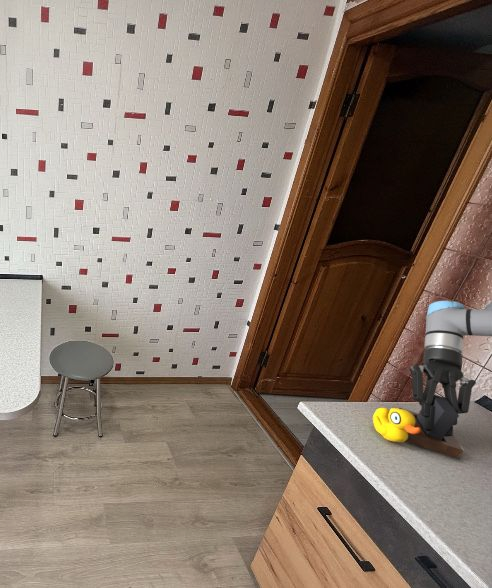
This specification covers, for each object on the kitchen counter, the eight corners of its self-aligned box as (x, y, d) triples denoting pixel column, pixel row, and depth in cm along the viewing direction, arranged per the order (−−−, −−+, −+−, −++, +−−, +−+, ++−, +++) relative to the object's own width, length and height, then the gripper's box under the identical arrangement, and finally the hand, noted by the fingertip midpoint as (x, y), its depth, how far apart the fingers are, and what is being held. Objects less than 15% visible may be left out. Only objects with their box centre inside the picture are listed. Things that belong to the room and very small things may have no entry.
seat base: (437, 428, 96) (443, 421, 95) (457, 458, 86) (463, 450, 85) (394, 415, 100) (399, 407, 99) (408, 442, 90) (413, 434, 89)
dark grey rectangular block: (427, 424, 96) (445, 397, 92) (439, 443, 89) (459, 415, 85) (414, 420, 97) (431, 393, 93) (424, 439, 90) (443, 411, 86)
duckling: (414, 456, 86) (434, 427, 82) (393, 453, 86) (411, 424, 82) (381, 423, 97) (397, 396, 93) (362, 421, 97) (377, 394, 93)
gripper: (470, 364, 95) (467, 446, 88) (400, 346, 102) (392, 421, 95) (491, 357, 89) (490, 445, 82) (414, 339, 95) (407, 419, 88)
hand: (437, 432), depth 88 cm, fingers closed on dark grey rectangular block, 3 cm apart
